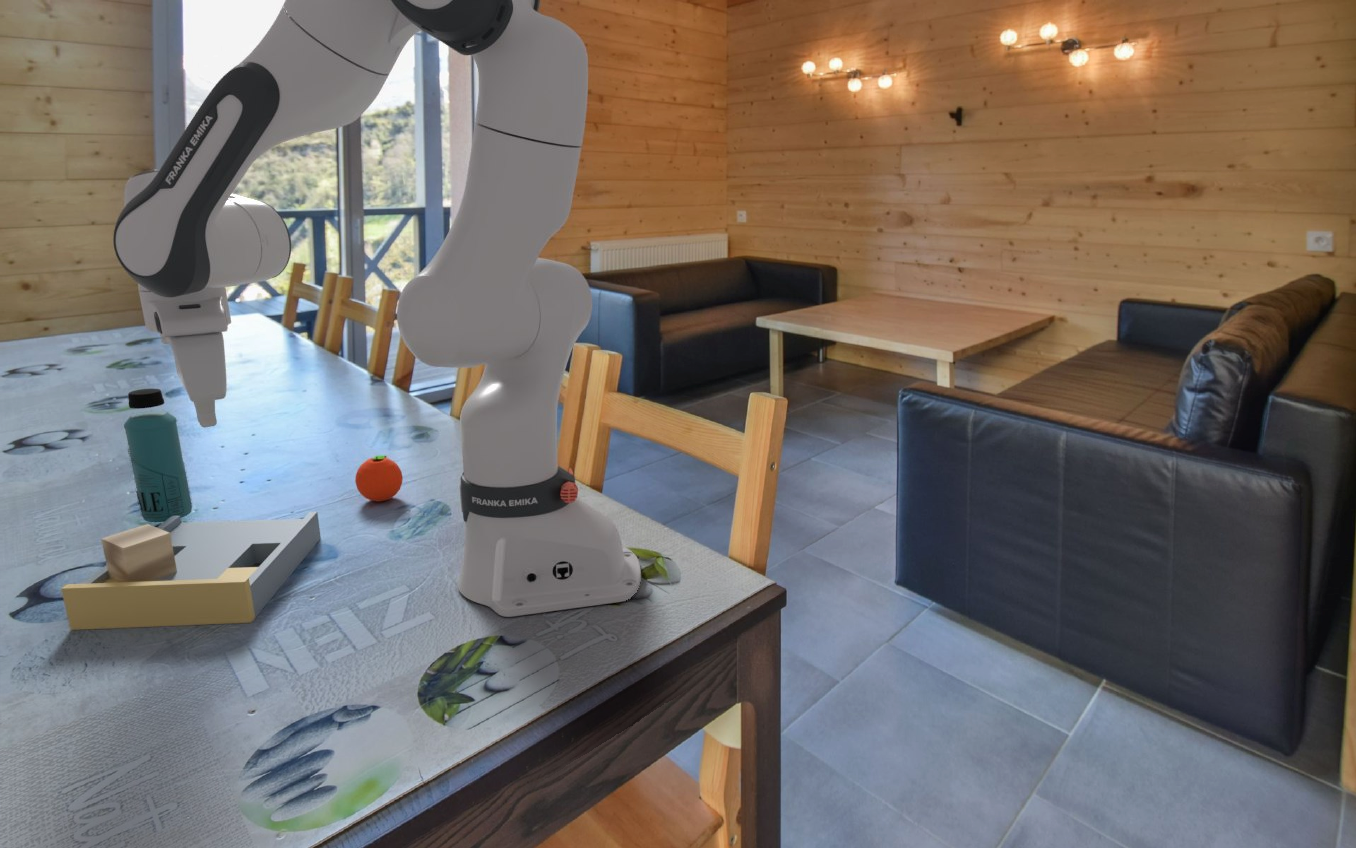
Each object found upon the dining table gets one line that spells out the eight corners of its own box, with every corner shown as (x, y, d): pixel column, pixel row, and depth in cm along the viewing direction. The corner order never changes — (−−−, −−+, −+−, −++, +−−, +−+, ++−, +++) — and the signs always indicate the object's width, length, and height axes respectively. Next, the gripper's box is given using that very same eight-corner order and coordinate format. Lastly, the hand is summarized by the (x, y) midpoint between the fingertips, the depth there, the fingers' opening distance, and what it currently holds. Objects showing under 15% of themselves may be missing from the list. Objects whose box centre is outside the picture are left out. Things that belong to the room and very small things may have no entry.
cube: (177, 572, 95) (170, 532, 93) (131, 588, 91) (123, 548, 89) (155, 562, 97) (147, 524, 96) (109, 578, 93) (101, 538, 92)
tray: (177, 543, 110) (171, 509, 108) (320, 538, 111) (316, 504, 110) (70, 630, 88) (61, 588, 86) (251, 622, 89) (244, 581, 88)
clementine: (367, 490, 130) (363, 448, 128) (411, 489, 130) (407, 447, 128) (351, 508, 122) (346, 464, 120) (397, 507, 123) (393, 463, 121)
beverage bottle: (201, 513, 120) (178, 383, 114) (187, 530, 114) (163, 393, 108) (151, 517, 118) (126, 385, 113) (135, 535, 112) (108, 396, 107)
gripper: (151, 307, 102) (172, 413, 105) (161, 323, 86) (185, 447, 89) (208, 303, 105) (226, 405, 109) (227, 317, 89) (248, 437, 93)
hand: (207, 424), depth 99 cm, fingers closed
